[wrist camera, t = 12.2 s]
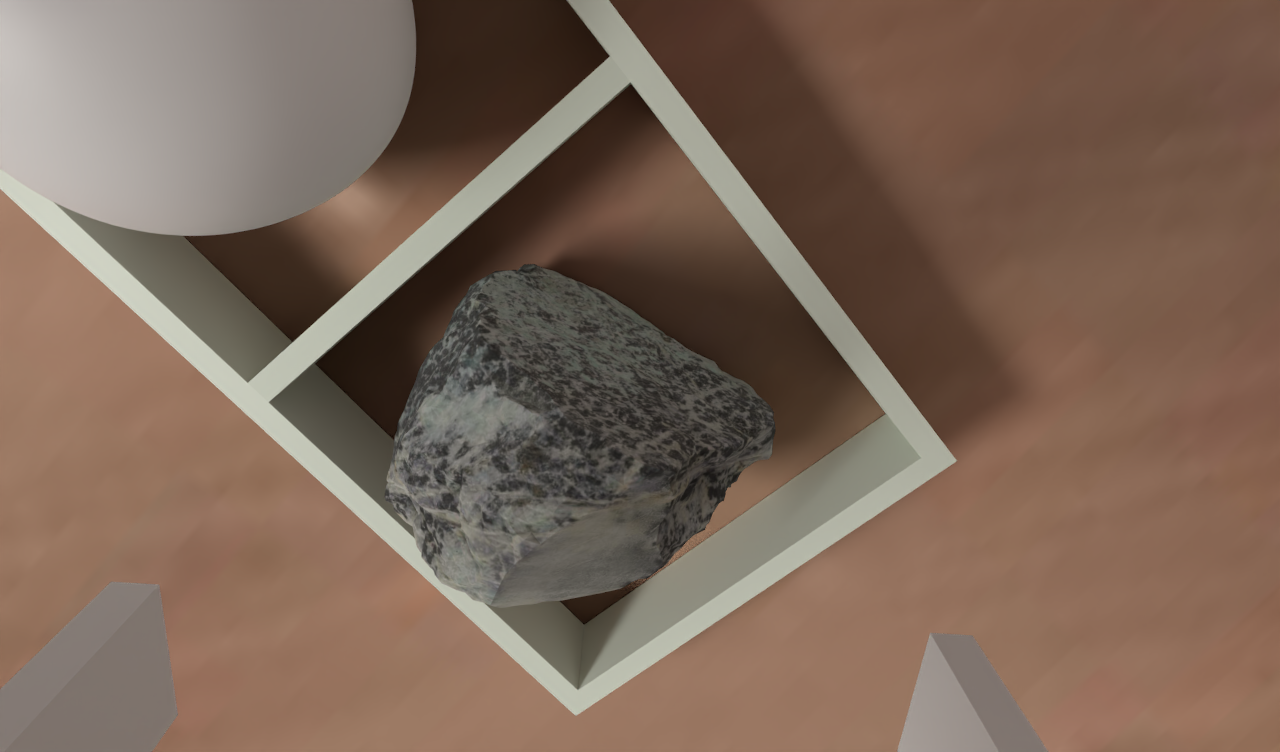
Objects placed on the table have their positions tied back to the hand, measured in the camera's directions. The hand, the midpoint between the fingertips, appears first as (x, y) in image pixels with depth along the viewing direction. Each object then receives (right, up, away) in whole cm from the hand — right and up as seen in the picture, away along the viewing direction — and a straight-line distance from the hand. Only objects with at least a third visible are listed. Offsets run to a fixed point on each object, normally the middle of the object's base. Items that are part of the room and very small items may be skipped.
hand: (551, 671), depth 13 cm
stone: (-1, +5, +13) cm, 14 cm away
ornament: (-9, +15, +9) cm, 20 cm away
